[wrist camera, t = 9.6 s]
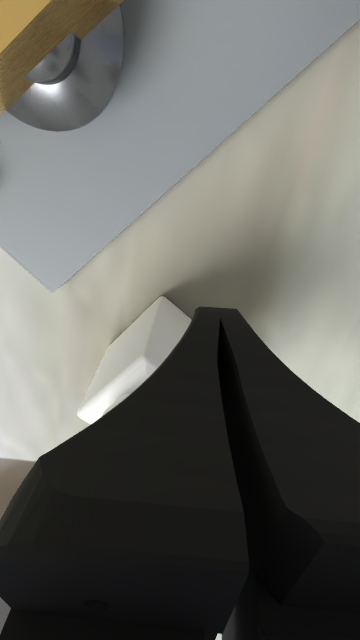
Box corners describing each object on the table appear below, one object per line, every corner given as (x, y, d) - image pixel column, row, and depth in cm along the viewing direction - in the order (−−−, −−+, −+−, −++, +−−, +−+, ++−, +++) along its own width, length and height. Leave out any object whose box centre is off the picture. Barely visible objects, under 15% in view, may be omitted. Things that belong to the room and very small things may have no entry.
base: (88, -732, 7) (40, -1092, 5) (359, 17, 13) (388, -4, 11) (-183, 69, 15) (-240, 59, 13) (57, 288, 21) (42, 303, 19)
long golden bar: (220, 19, 11) (226, -25, 8) (2, 192, 16) (-49, 206, 12) (115, -270, 8) (61, -515, 5) (-121, 41, 12) (-229, 9, 9)
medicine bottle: (106, 346, 24) (33, 500, 14) (162, 292, 21) (121, 439, 11) (170, 391, 26) (147, 551, 16) (228, 348, 23) (247, 513, 13)
